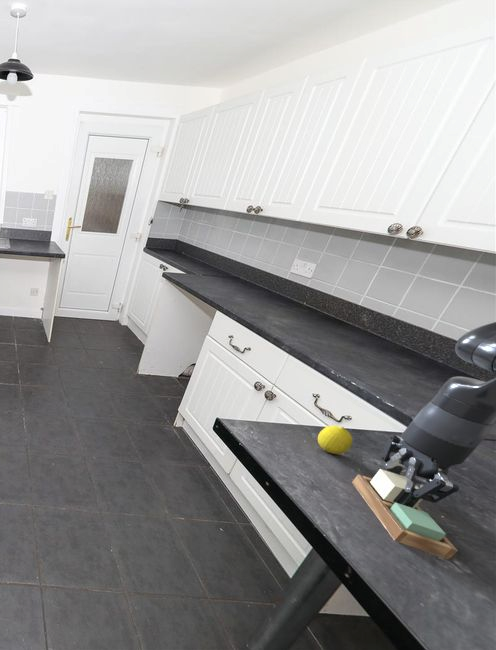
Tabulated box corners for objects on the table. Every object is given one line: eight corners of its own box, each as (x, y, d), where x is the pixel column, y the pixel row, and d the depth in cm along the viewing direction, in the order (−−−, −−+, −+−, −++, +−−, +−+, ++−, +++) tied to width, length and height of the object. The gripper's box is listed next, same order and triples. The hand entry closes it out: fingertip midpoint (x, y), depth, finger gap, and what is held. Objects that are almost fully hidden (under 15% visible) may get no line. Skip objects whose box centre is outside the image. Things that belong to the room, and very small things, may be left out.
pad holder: (394, 498, 71) (402, 487, 70) (447, 561, 59) (458, 550, 58) (350, 483, 74) (357, 473, 72) (392, 542, 62) (402, 531, 60)
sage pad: (414, 526, 65) (427, 512, 63) (432, 548, 61) (446, 534, 59) (383, 515, 66) (395, 502, 64) (399, 536, 62) (412, 522, 61)
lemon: (346, 464, 79) (365, 439, 76) (318, 456, 81) (335, 431, 78) (333, 448, 84) (350, 423, 81) (307, 440, 86) (322, 416, 82)
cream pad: (397, 491, 69) (409, 477, 68) (413, 509, 65) (426, 495, 64) (369, 482, 71) (379, 468, 69) (383, 499, 67) (394, 485, 65)
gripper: (512, 467, 54) (444, 534, 61) (441, 414, 66) (392, 475, 73) (448, 449, 56) (391, 516, 63) (392, 402, 69) (349, 462, 75)
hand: (392, 494), depth 68 cm, fingers closed on cream pad, 4 cm apart
